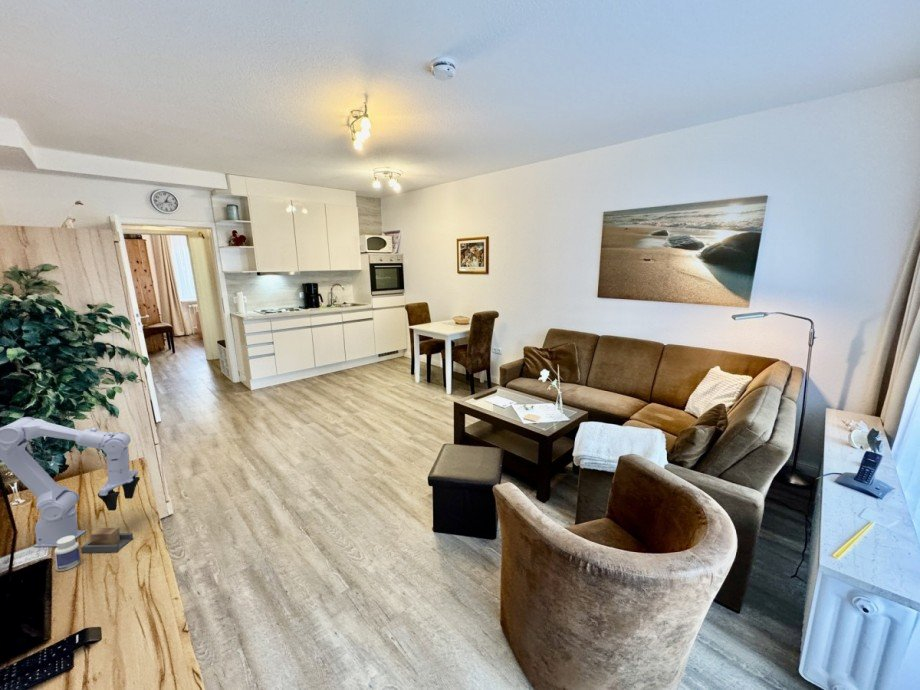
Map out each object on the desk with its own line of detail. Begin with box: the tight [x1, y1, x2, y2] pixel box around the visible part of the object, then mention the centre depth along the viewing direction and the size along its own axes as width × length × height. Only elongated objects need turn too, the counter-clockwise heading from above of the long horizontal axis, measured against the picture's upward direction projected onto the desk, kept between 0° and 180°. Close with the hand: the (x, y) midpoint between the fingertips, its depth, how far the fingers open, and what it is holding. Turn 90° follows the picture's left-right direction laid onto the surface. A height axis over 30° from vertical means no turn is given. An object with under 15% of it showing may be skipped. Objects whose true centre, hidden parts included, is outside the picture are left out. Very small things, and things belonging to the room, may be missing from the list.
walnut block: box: [90, 527, 120, 545], centre depth 125 cm, size 6×4×5 cm, turn 96°
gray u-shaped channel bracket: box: [80, 532, 134, 554], centre depth 125 cm, size 10×7×2 cm, turn 96°
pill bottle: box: [53, 535, 81, 572], centre depth 115 cm, size 5×5×9 cm
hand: (120, 503), depth 132 cm, fingers open, 7 cm apart
